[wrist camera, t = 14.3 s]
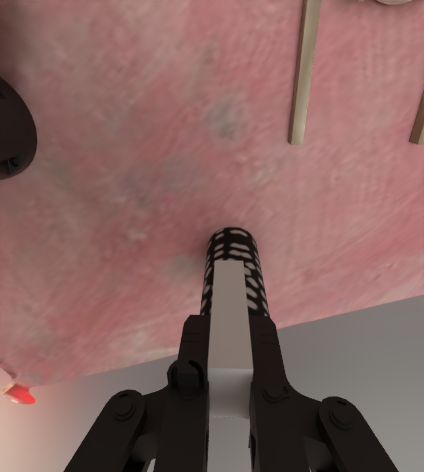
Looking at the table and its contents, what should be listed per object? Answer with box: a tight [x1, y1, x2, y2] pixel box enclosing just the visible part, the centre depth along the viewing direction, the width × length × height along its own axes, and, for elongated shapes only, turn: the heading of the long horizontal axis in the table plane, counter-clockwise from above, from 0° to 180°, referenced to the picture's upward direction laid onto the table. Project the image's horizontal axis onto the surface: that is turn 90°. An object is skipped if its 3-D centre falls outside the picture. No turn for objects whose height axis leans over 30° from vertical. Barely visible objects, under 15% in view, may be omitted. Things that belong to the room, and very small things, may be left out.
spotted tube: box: [200, 227, 270, 317], centre depth 40 cm, size 8×8×20 cm
